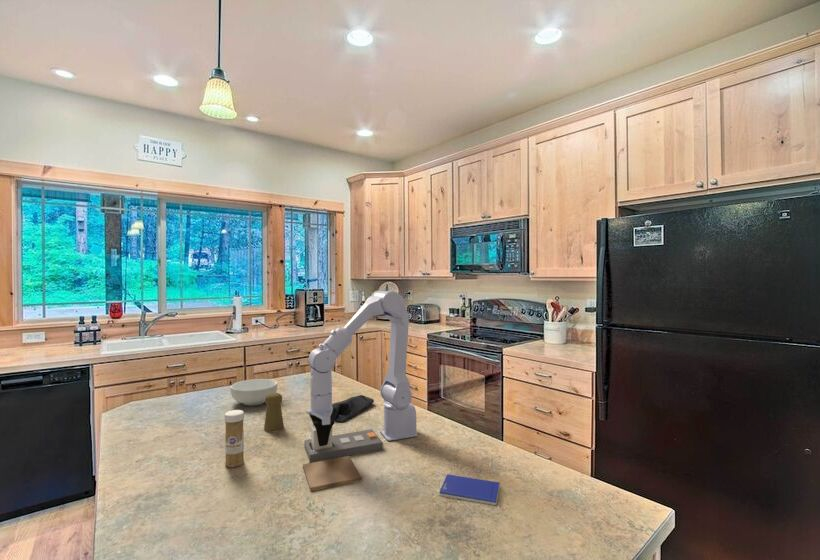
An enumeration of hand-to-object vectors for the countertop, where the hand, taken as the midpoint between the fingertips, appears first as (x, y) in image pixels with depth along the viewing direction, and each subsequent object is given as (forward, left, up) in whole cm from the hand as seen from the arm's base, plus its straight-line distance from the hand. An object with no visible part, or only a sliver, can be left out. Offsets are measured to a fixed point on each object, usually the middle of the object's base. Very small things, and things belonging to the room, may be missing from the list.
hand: (321, 441), depth 110 cm
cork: (+11, -23, -3) cm, 26 cm away
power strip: (-6, 0, -3) cm, 7 cm away
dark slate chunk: (-14, -30, -3) cm, 34 cm away
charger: (0, 0, -3) cm, 3 cm away
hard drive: (-28, +33, -4) cm, 43 cm away
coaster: (0, +13, -3) cm, 13 cm away
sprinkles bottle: (+22, -2, -3) cm, 22 cm away
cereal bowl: (+16, -53, -3) cm, 55 cm away
